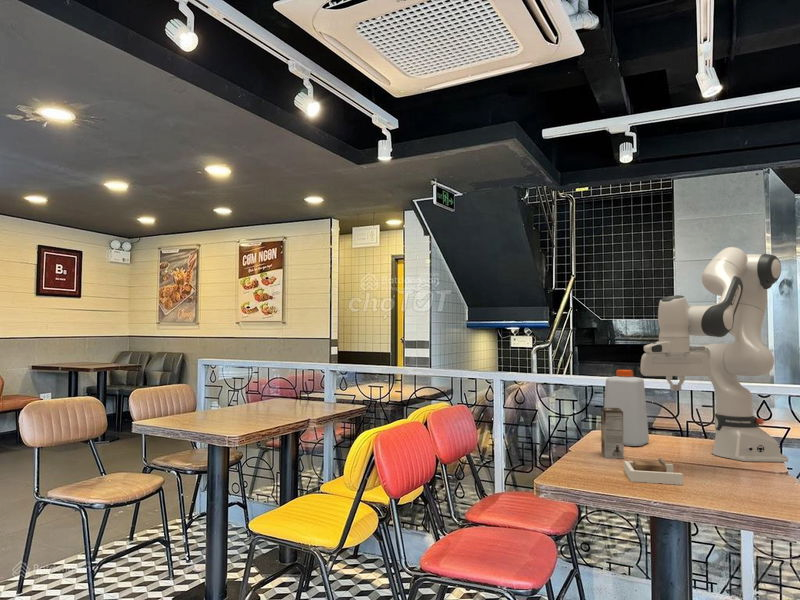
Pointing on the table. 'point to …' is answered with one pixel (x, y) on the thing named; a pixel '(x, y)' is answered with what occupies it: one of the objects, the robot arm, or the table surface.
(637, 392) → the plastic bottle
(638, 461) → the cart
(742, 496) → the table surface
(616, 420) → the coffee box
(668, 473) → the bay
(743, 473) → the table surface
